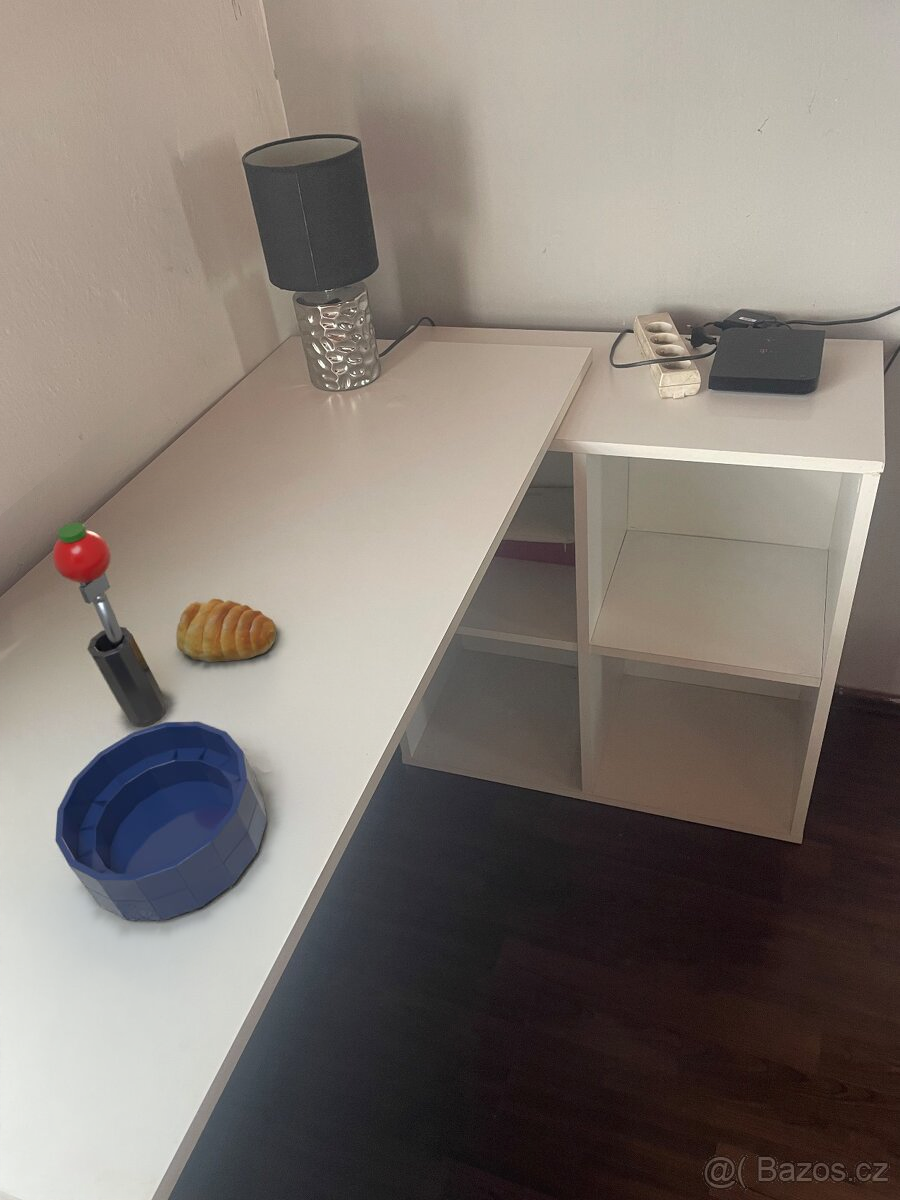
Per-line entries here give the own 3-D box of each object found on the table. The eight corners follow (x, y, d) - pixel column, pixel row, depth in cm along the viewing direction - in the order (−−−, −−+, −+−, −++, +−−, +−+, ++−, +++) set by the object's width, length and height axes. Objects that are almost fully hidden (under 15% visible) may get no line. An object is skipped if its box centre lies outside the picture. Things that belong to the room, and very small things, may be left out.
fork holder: (137, 733, 77) (97, 663, 71) (121, 711, 79) (81, 641, 73) (174, 711, 78) (137, 640, 73) (157, 690, 81) (120, 620, 75)
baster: (146, 729, 76) (69, 549, 64) (111, 716, 78) (30, 538, 66) (178, 698, 79) (110, 520, 67) (143, 686, 81) (71, 510, 69)
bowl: (132, 963, 60) (98, 920, 56) (63, 839, 69) (29, 794, 65) (300, 841, 66) (280, 794, 62) (216, 741, 75) (194, 694, 71)
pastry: (289, 621, 86) (279, 592, 83) (264, 670, 81) (252, 641, 78) (205, 616, 88) (192, 587, 86) (175, 663, 83) (161, 635, 81)
